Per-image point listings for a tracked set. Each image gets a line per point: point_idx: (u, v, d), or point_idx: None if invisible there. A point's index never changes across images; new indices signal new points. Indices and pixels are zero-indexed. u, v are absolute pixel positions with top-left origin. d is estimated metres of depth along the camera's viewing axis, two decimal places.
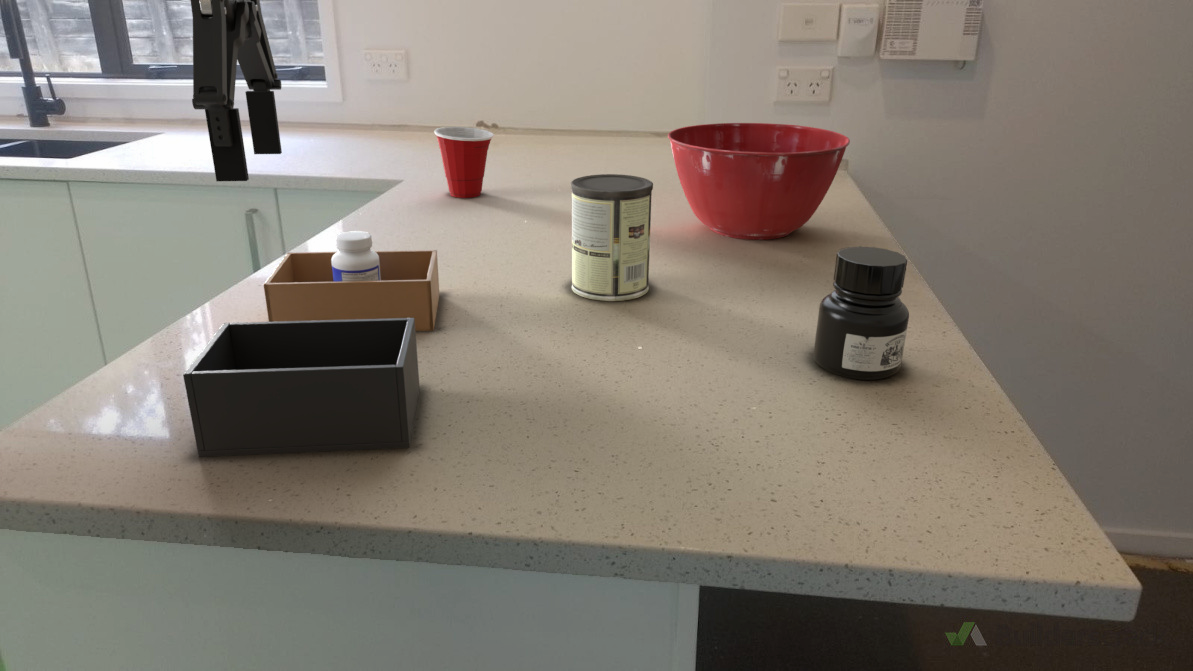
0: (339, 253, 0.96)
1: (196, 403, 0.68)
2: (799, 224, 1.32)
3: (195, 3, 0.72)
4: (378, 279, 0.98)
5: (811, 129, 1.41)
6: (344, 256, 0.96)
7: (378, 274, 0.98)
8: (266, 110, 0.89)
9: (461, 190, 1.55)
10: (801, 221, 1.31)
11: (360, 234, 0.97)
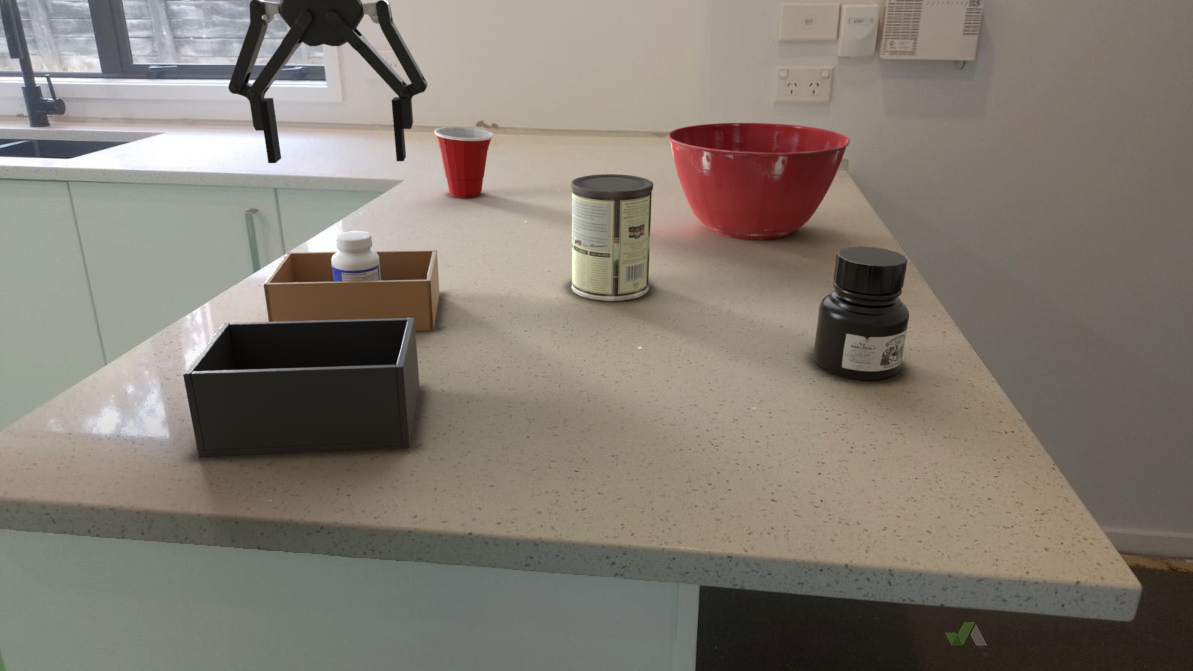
0: (339, 253, 0.96)
1: (196, 403, 0.68)
2: (799, 224, 1.32)
3: (388, 10, 0.87)
4: (378, 279, 0.98)
5: (811, 129, 1.41)
6: (344, 256, 0.96)
7: (378, 274, 0.98)
8: (273, 116, 0.90)
9: (461, 190, 1.55)
10: (801, 221, 1.31)
11: (360, 234, 0.97)
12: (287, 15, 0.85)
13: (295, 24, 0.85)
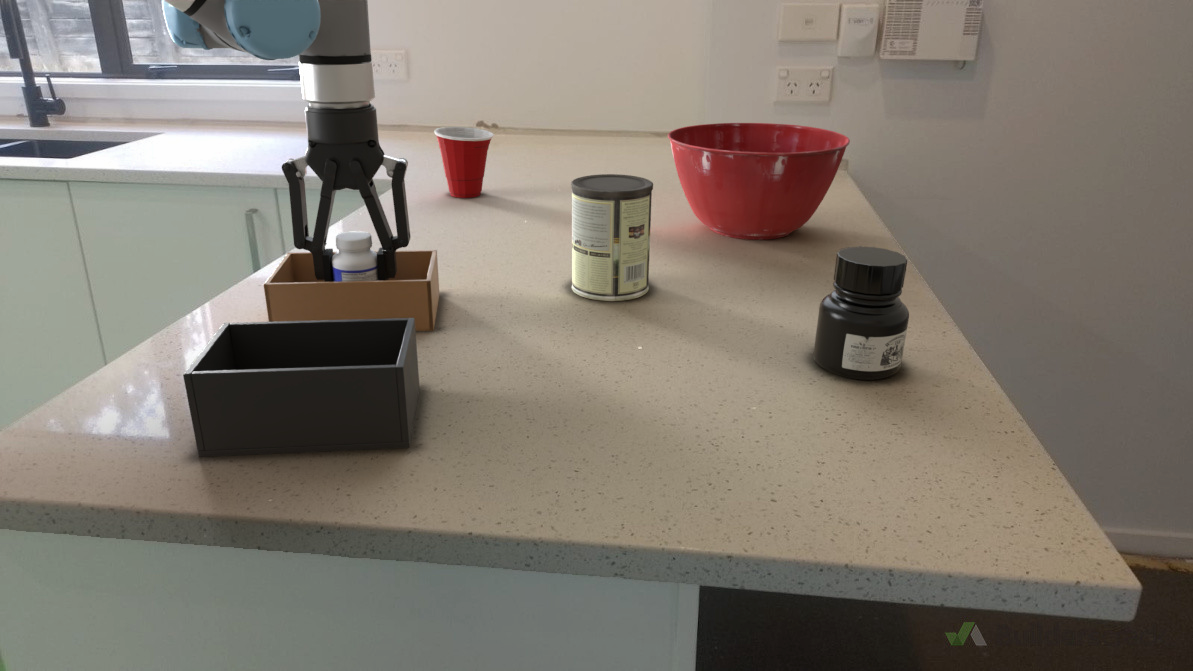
0: (339, 253, 0.96)
1: (196, 403, 0.68)
2: (799, 224, 1.32)
3: (405, 172, 0.94)
4: (378, 279, 0.98)
5: (811, 129, 1.41)
6: (344, 256, 0.96)
7: None
8: None
9: (461, 190, 1.55)
10: (801, 221, 1.31)
11: (360, 234, 0.97)
12: (315, 164, 0.92)
13: (325, 176, 0.92)
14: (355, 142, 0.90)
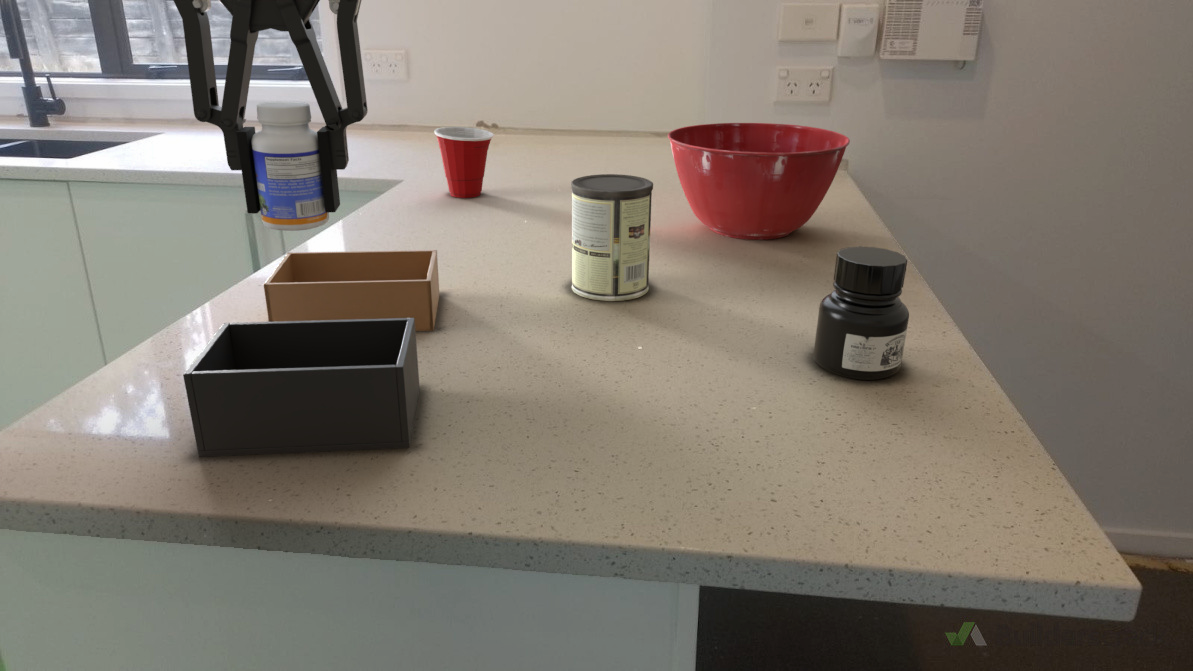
0: (262, 130, 0.66)
1: (196, 403, 0.68)
2: (799, 224, 1.32)
3: (356, 6, 0.64)
4: (320, 171, 0.68)
5: (811, 129, 1.41)
6: (268, 132, 0.66)
7: None
8: None
9: (461, 190, 1.55)
10: (801, 221, 1.31)
11: (293, 103, 0.67)
12: None
13: (236, 6, 0.62)
14: None
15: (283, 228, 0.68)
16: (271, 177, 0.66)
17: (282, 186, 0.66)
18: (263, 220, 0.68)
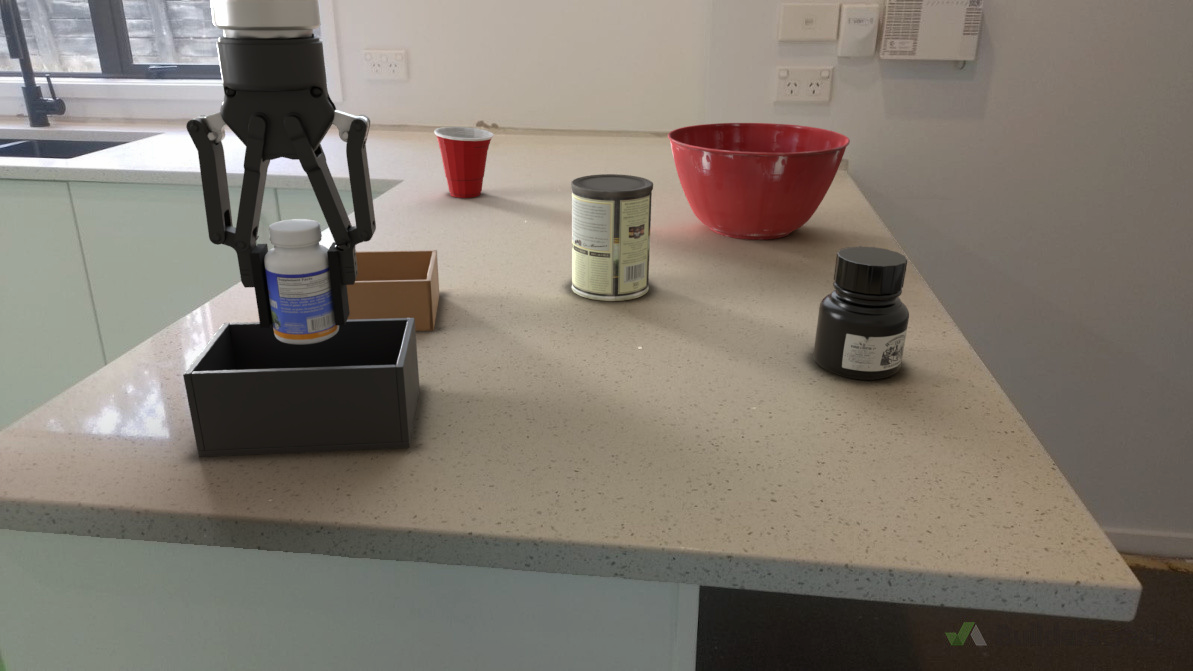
0: (274, 250, 0.68)
1: (196, 403, 0.68)
2: (799, 224, 1.32)
3: (365, 134, 0.66)
4: None
5: (811, 129, 1.41)
6: (280, 253, 0.68)
7: None
8: None
9: (461, 190, 1.55)
10: (801, 221, 1.31)
11: (304, 223, 0.69)
12: (236, 121, 0.64)
13: (249, 139, 0.64)
14: (290, 88, 0.62)
15: (295, 342, 0.70)
16: (283, 295, 0.68)
17: (294, 304, 0.68)
18: (275, 334, 0.71)
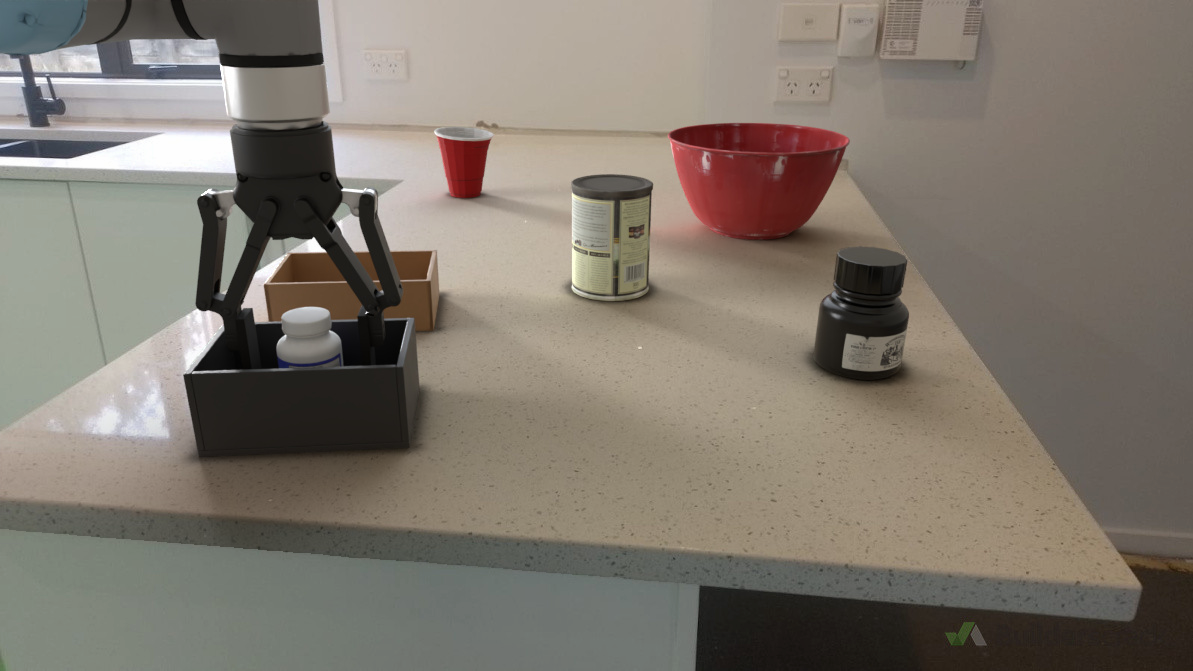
0: (286, 339, 0.71)
1: (196, 403, 0.68)
2: (799, 224, 1.32)
3: (374, 206, 0.68)
4: None
5: (811, 129, 1.41)
6: (292, 343, 0.71)
7: (340, 365, 0.73)
8: (253, 331, 0.72)
9: (461, 190, 1.55)
10: (801, 221, 1.31)
11: (315, 312, 0.72)
12: (246, 204, 0.67)
13: (257, 219, 0.66)
14: (300, 176, 0.64)
15: None
16: None
17: None
18: None
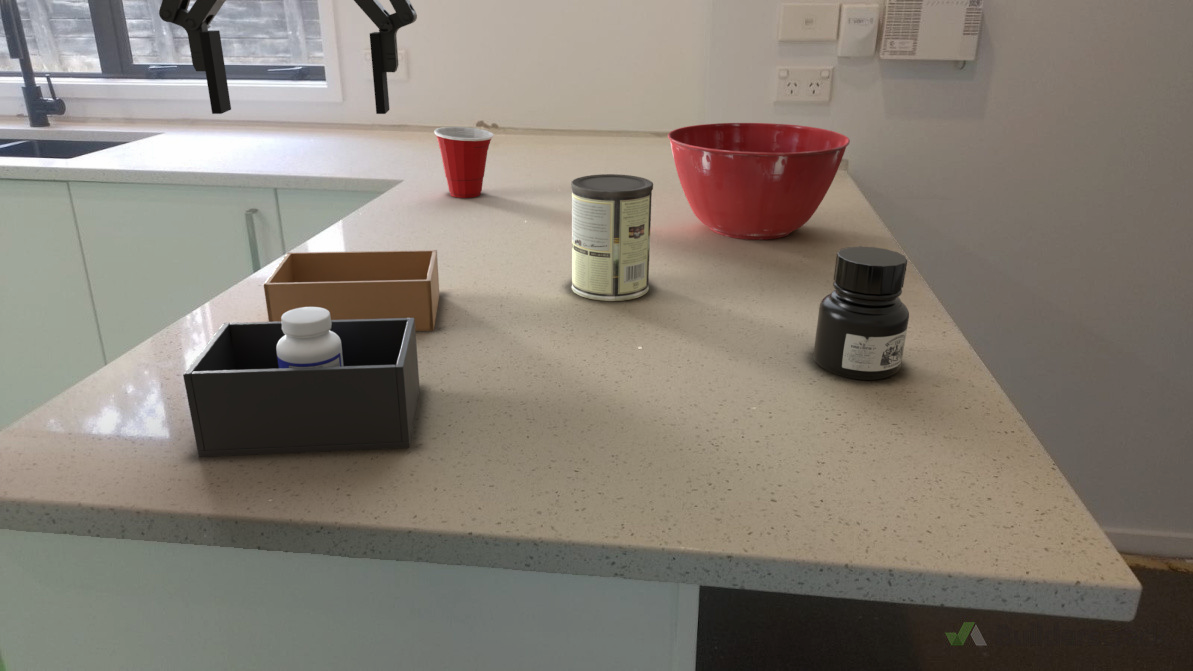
0: (286, 339, 0.71)
1: (196, 403, 0.68)
2: (799, 224, 1.32)
3: None
4: None
5: (811, 129, 1.41)
6: (292, 343, 0.71)
7: (340, 365, 0.73)
8: (219, 54, 0.71)
9: (461, 190, 1.55)
10: (801, 221, 1.31)
11: (315, 312, 0.72)
12: None
13: None
14: None
15: None
16: None
17: None
18: None
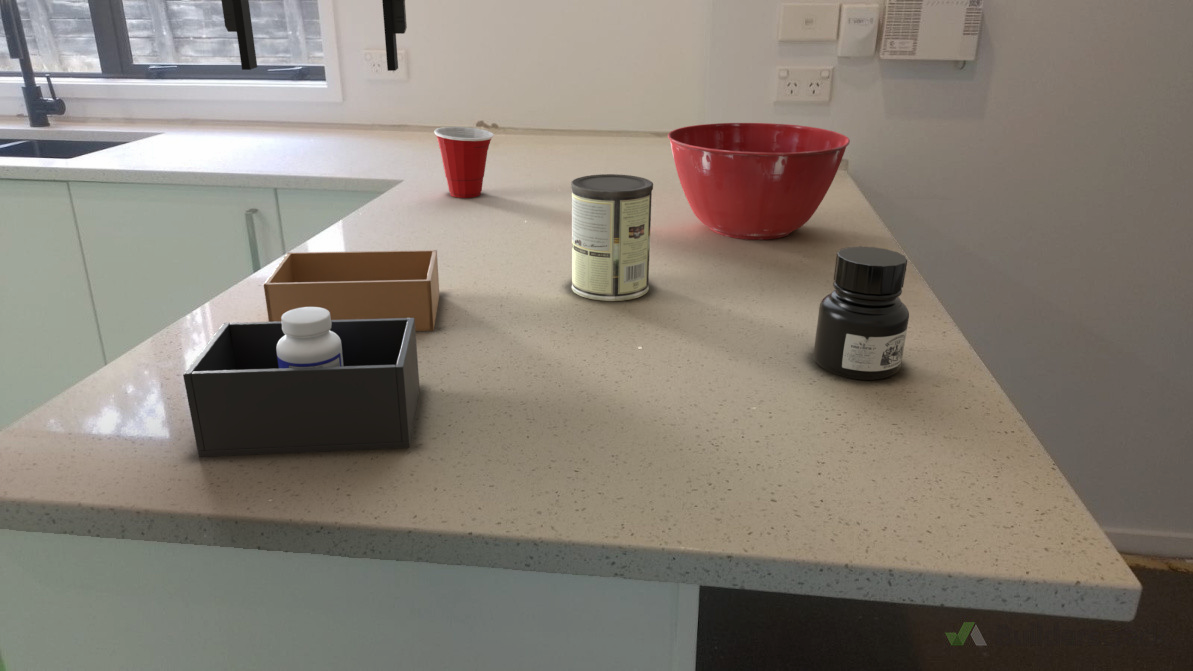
0: (286, 339, 0.71)
1: (196, 403, 0.68)
2: (799, 224, 1.32)
3: None
4: None
5: (811, 129, 1.41)
6: (292, 343, 0.71)
7: (340, 365, 0.73)
8: (248, 17, 0.80)
9: (461, 190, 1.55)
10: (801, 221, 1.31)
11: (315, 312, 0.72)
12: None
13: None
14: None
15: None
16: None
17: None
18: None
